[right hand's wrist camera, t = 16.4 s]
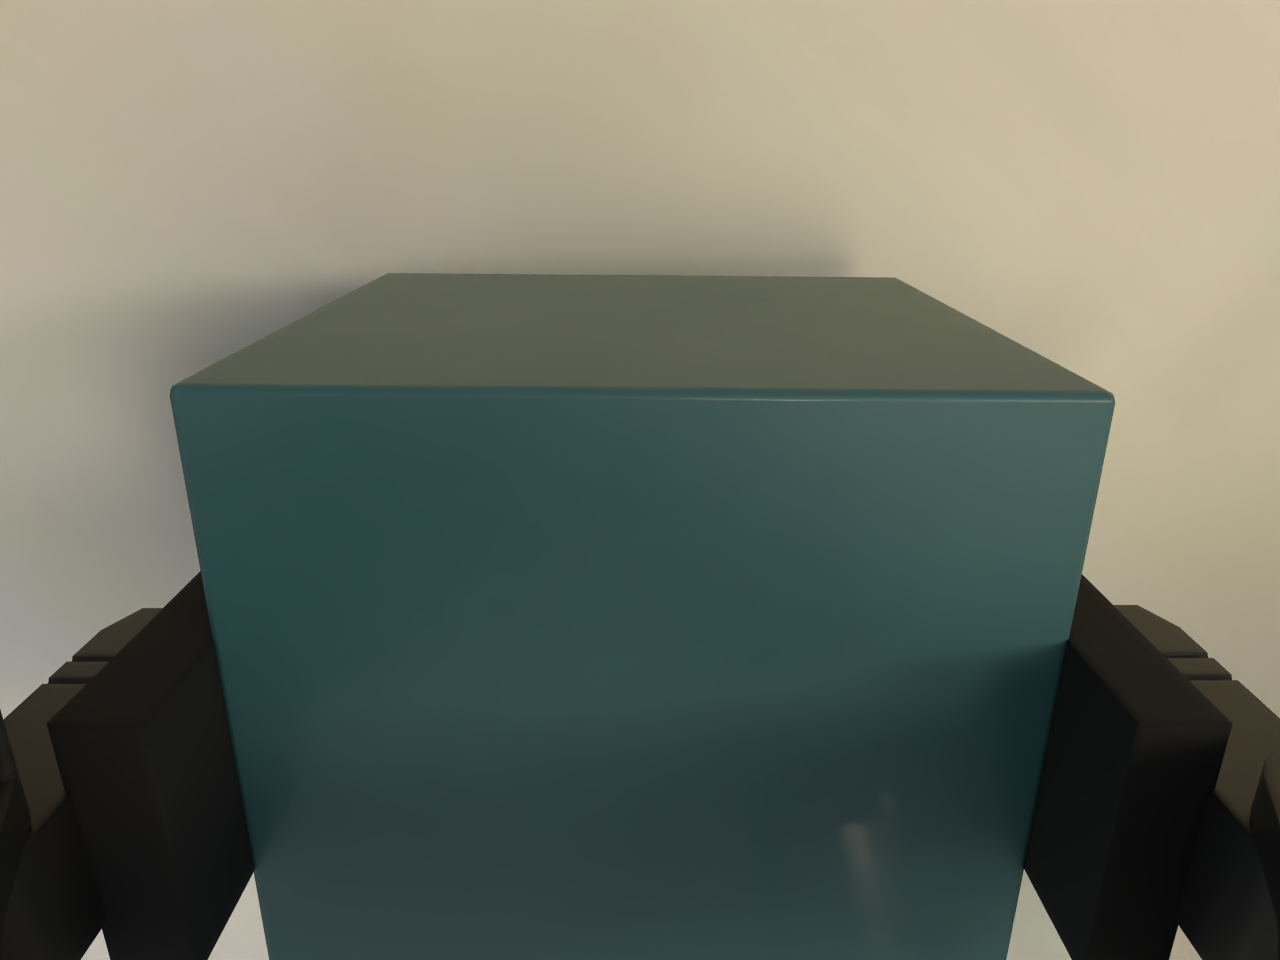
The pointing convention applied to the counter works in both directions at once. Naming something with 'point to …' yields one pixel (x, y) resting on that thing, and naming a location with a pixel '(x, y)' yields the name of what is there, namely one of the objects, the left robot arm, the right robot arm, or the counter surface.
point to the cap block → (639, 615)
